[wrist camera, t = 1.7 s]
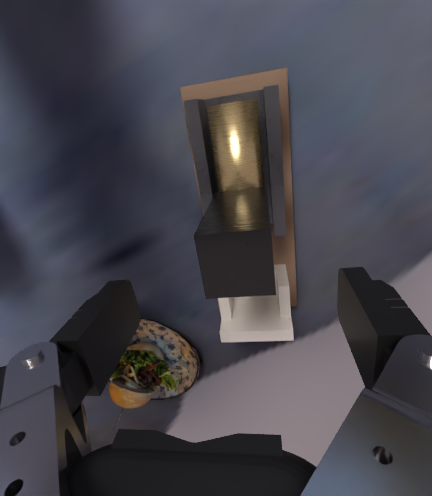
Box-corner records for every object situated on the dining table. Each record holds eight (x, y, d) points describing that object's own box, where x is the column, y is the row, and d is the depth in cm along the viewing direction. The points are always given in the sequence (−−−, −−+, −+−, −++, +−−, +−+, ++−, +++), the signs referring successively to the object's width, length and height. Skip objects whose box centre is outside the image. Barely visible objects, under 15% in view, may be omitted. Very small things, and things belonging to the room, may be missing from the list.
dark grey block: (209, 107, 19) (169, 107, 10) (258, 99, 19) (260, 92, 10) (227, 234, 23) (209, 314, 14) (269, 230, 22) (277, 311, 13)
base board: (183, 88, 21) (180, 87, 20) (285, 69, 20) (287, 67, 19) (220, 301, 28) (219, 309, 27) (295, 298, 27) (297, 306, 26)
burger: (224, 356, 32) (215, 423, 25) (157, 401, 36) (135, 467, 30) (138, 286, 29) (103, 339, 22) (78, 343, 34) (34, 402, 27)
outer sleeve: (194, 101, 20) (183, 101, 17) (275, 87, 19) (278, 84, 16) (214, 225, 24) (208, 242, 21) (282, 218, 23) (286, 235, 20)
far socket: (221, 268, 25) (213, 301, 21) (285, 264, 24) (291, 297, 20) (227, 304, 27) (221, 342, 23) (287, 301, 26) (293, 340, 22)
